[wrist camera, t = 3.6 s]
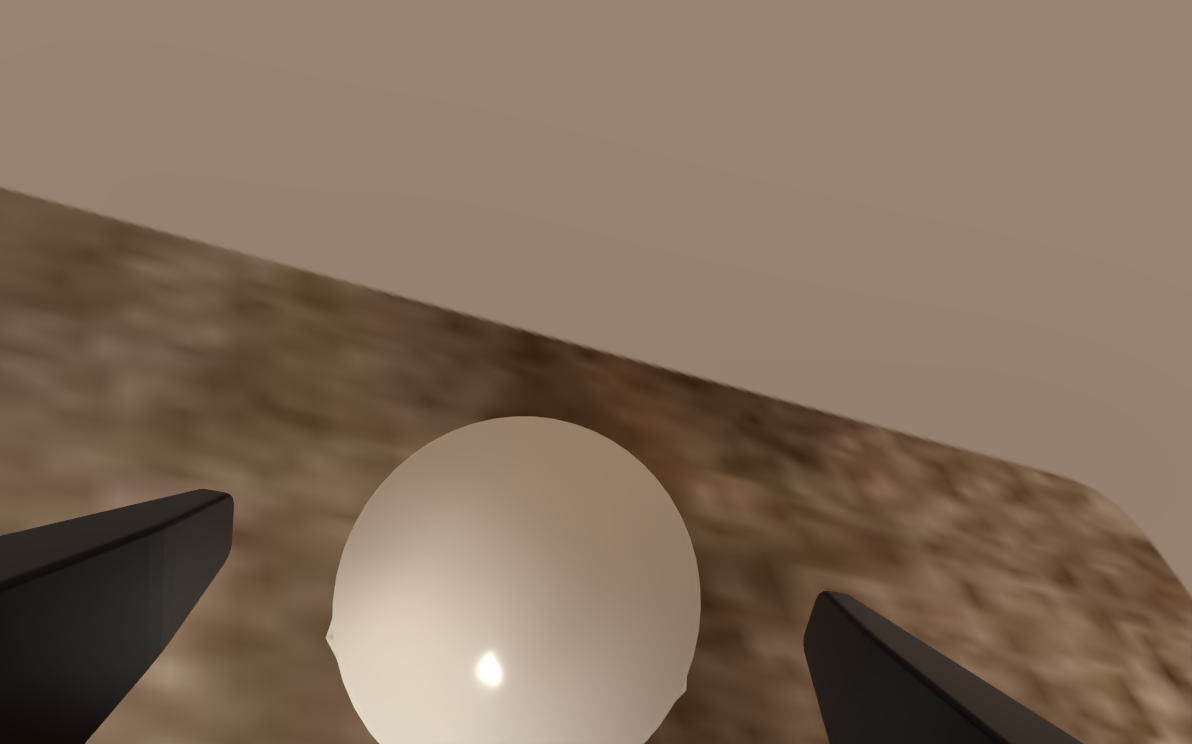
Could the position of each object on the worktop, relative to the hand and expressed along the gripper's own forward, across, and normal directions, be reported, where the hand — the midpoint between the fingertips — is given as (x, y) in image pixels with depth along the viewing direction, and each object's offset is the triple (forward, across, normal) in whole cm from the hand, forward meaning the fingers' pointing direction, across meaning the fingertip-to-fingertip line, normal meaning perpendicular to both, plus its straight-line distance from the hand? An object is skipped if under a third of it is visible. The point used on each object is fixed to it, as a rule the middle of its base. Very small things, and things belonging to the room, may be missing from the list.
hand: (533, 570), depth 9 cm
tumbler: (+9, 0, +9) cm, 13 cm away
